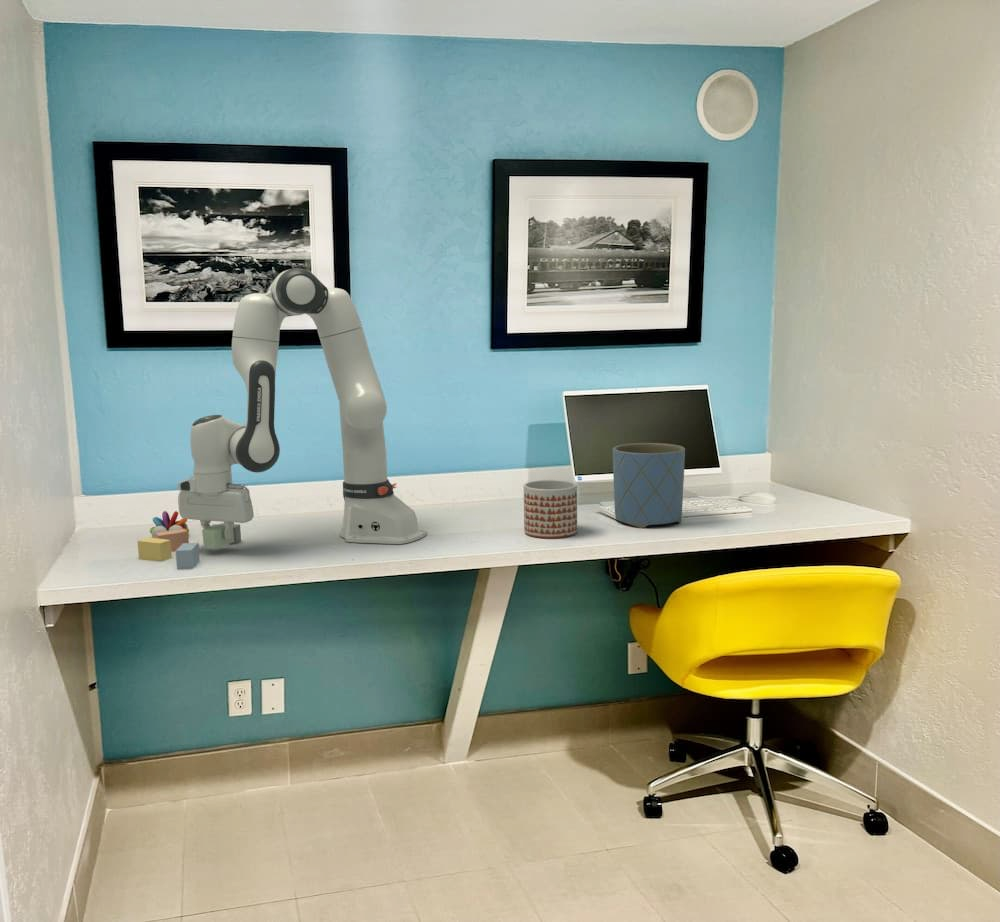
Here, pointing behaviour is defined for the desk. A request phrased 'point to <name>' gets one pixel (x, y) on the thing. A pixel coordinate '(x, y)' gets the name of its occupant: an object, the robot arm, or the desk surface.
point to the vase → (550, 508)
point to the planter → (648, 483)
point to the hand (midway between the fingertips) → (218, 538)
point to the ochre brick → (154, 549)
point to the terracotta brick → (174, 537)
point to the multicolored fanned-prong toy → (168, 524)
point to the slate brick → (187, 556)
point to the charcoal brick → (235, 533)
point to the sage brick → (216, 537)
